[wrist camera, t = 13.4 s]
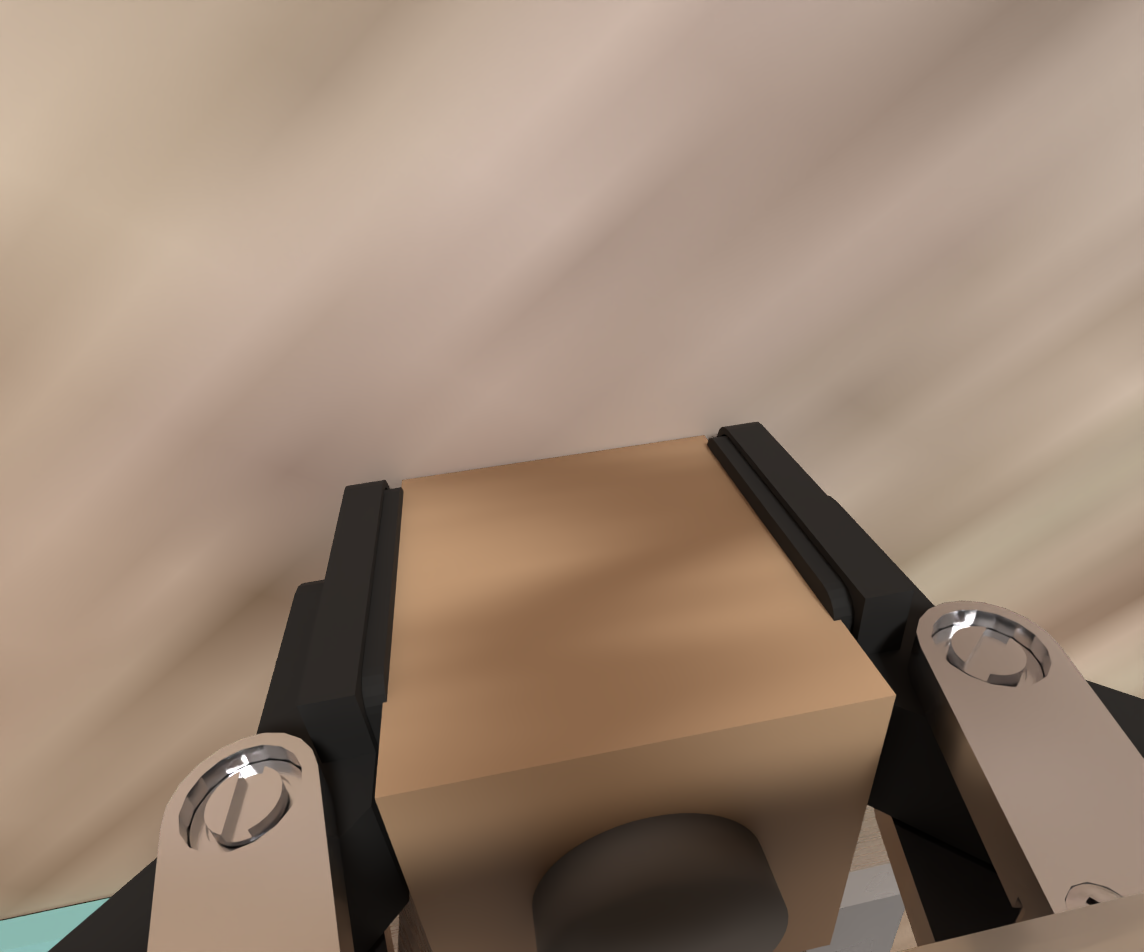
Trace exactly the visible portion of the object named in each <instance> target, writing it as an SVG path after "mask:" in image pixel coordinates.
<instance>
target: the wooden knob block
mask: <svg viewBox="0 0 1144 952" xmlns="http://www.w3.org/2000/svg"><path fill="white" fill-rule="evenodd" d="M707 443H708V440H707V438H706V437H705V436H704V435H703V436H696V437H690V438H683V439H676V440H670V441H663V442H656V443H649V444H643V445H636V446H629V447H622V448H616V449H609V450H602V451H595V452H589V453H582V454H575V455H569V456H562V457H555V458H548V459H542V460H535V461H528V462H521V463H515V464H508V465H501V466H494V467H488V468H481V469H474V470H468V471H461V472H454V473H447V474H441V475H434V476H427V477H420V478H414V479H407V480H402V489H403V491H404V494H403V506H402V519H401V531H400V544H399V556H398V569H397V582H396V594H395V607H394V619H393V632H392V644H391V657H390V669H389V682H388V694H387V702H384V703H383V708H382V719H381V731H380V742H379V754H378V766H377V777H376V789H375V800H376V803H377V806H378V808H379V811H380V814H381V816H382V819H383V822H384V824H385V827H386V830H387V832H388V835H389V838H390V840H391V843H392V846H393V848H394V851H395V854H396V856H397V859H398V862H399V864H400V867H401V870H402V872H403V875H404V878H405V880H406V883H407V886H408V888H409V891H410V894H411V896H412V899H413V902H414V904H415V907H416V910H417V912H418V915H419V918H420V920H421V923H422V926H423V928H424V931H425V934H426V936H427V939H428V942H429V944H430V947H431V950H432V952H801V951H806V950H810V949H814V948H818V947H822V946H827V945H830V943H831V939H832V936H833V932H834V928H835V924H836V920H837V917H838V913H839V909H840V905H841V902H842V898H843V894H844V890H845V887H846V883H847V879H848V875H849V871H850V868H851V864H852V860H853V856H854V853H855V849H856V845H857V841H858V837H859V834H860V830H861V826H862V822H863V819H864V815H865V811H866V807H867V803H868V800H869V796H870V792H871V788H872V785H873V781H874V777H875V773H876V769H877V766H878V762H879V758H880V754H881V751H882V747H883V743H884V739H885V735H886V732H887V728H888V724H889V720H890V717H891V713H892V709H893V705H894V702H895V698H896V694H895V693H894V691H893V690H892V689H891V687H890V686H889V685H888V683H887V682H886V680H885V679H884V678H883V676H882V675H881V674H880V672H879V671H878V670H877V668H876V667H875V666H874V664H873V663H872V662H871V660H870V659H869V657H868V656H867V655H866V653H865V652H864V651H863V649H862V648H861V647H860V645H859V644H858V643H857V641H856V640H855V639H854V637H853V636H852V634H851V633H850V632H849V630H848V629H847V628H846V626H845V625H844V624H843V622H842V621H841V620H837V621H834V620H833V619H832V617H831V616H830V615H829V613H828V612H827V610H826V609H825V608H824V606H823V605H822V604H821V602H820V601H819V599H818V598H817V597H816V595H815V594H814V593H813V591H812V590H811V588H810V587H809V586H808V584H807V583H806V582H805V580H804V579H803V577H802V576H801V575H800V573H799V572H798V570H797V569H796V568H795V566H794V565H793V564H792V562H791V561H790V559H789V558H788V557H787V555H786V554H785V553H784V551H783V550H782V548H781V547H780V546H779V544H778V543H777V541H776V540H775V539H774V537H773V536H772V535H771V533H770V532H769V530H768V529H767V528H766V526H765V525H764V524H763V522H762V521H761V519H760V518H759V517H758V515H757V514H756V512H755V511H754V510H753V508H752V507H751V506H750V504H749V503H748V501H747V500H746V499H745V497H744V496H743V495H742V493H741V492H740V490H739V489H738V488H737V486H736V485H735V483H734V482H733V481H732V479H731V478H730V477H729V475H728V474H727V472H726V471H725V470H724V468H723V467H722V466H721V464H720V463H719V461H718V460H717V459H716V457H715V456H714V455H713V453H712V452H711V450H710V449H709V448H708V446H707Z"/></svg>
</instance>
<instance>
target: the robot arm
mask: <svg viewBox="0 0 1144 952" xmlns="http://www.w3.org/2000/svg"><path fill="white" fill-rule="evenodd" d="M707 446H708V448H709V449H710V450H711V452H712V453H713V455H714V456H715V457H716V459H717V460H718V461H719V463H720V464H721V466H722V467H723V468H724V470H725V471H726V472H727V474H728V475H729V477H730V478H731V479H732V481H733V482H734V483H735V485H736V486H737V488H738V489H739V490H740V492H741V493H742V495H743V496H744V497H745V499H746V500H747V501H748V503H749V504H750V506H751V507H752V508H753V510H754V511H755V512H756V514H757V515H758V517H759V518H760V519H761V521H762V522H763V524H764V525H765V526H766V528H767V529H768V530H769V532H770V533H771V535H772V536H773V537H774V539H775V540H776V541H777V543H778V544H779V546H780V547H781V548H782V550H783V551H784V553H785V554H786V555H787V557H788V558H789V559H790V561H791V562H792V564H793V565H794V566H795V568H796V569H797V570H798V572H799V573H800V575H801V576H802V577H803V579H804V580H805V582H806V583H807V584H808V586H809V587H810V588H811V590H812V591H813V593H814V594H815V595H816V597H817V598H818V599H819V601H820V602H821V604H822V605H823V606H824V608H825V609H826V610H827V612H828V613H829V615H830V616H831V617H832V619H833V620H834V621H837V620H841V621H842V622H843V624H844V625H845V626H846V628H847V629H848V630H849V632H850V633H851V634H852V636H853V637H854V639H855V640H856V641H857V643H858V644H859V645H860V647H861V648H862V649H863V651H864V652H865V653H866V655H867V656H868V657H869V659H870V660H871V662H872V663H873V664H874V666H875V667H876V668H877V670H878V671H879V672H880V674H881V675H882V676H883V678H884V679H885V680H886V682H887V683H888V685H889V686H890V687H891V689H892V690H893V691H894V693H895V694H896V698H895V702H894V705H893V709H892V713H891V717H890V720H889V724H888V728H887V732H886V735H885V739H884V743H883V747H882V751H881V754H880V758H879V762H878V766H877V769H876V773H875V777H874V781H873V785H872V788H871V792H870V796H869V800H868V803H867V805H868V806H871V807H873V808H874V813H875V818H876V821H877V825H878V828H879V831H880V834H881V837H882V840H883V843H884V846H885V849H886V852H887V855H888V858H889V861H890V864H891V867H892V870H893V873H894V876H895V879H896V882H897V885H898V888H899V891H900V894H901V897H902V900H903V904H904V907H905V910H906V913H907V916H908V919H909V922H910V925H911V928H912V931H913V934H914V937H915V940H916V943H917V946H918V947H915V948H911V949H907V950H903V951H899V952H1144V699H1141V698H1138V697H1135V696H1132V695H1129V694H1126V693H1123V692H1120V691H1117V690H1114V689H1111V688H1108V687H1105V686H1102V685H1099V684H1096V683H1093V682H1090V681H1087V680H1085V679H1084V677H1083V676H1082V674H1081V673H1080V672H1079V670H1078V669H1077V668H1076V666H1075V665H1074V664H1073V662H1072V661H1071V660H1070V658H1069V657H1068V656H1067V654H1066V653H1065V652H1064V650H1063V649H1062V647H1061V646H1060V645H1059V644H1058V643H1057V642H1056V641H1055V640H1054V639H1053V638H1052V637H1051V636H1050V635H1049V633H1048V632H1047V631H1046V630H1044V629H1043V628H1041V627H1040V626H1038V625H1037V624H1035V623H1034V622H1032V621H1031V620H1029V619H1028V618H1026V617H1024V616H1022V615H1019V614H1017V613H1015V612H1013V611H1010V610H1008V609H1006V608H1002V607H999V606H995V605H991V604H987V603H983V602H972V601H954V602H947V603H942V604H939V605H937V606H934V605H933V604H932V603H931V602H930V601H929V600H928V599H927V597H926V596H925V595H924V594H923V593H922V592H921V591H920V590H919V589H918V588H917V587H916V586H915V585H914V584H913V582H912V581H911V580H910V579H909V578H908V577H907V576H906V575H905V574H904V573H903V572H902V571H901V570H900V569H899V568H898V566H897V565H896V564H895V563H894V562H893V561H892V560H891V559H890V558H889V557H888V556H887V555H886V554H885V553H884V551H883V550H882V549H881V548H880V547H879V546H878V545H877V544H876V543H875V542H874V541H873V540H872V539H871V538H870V536H869V535H868V534H867V533H866V532H865V531H864V530H863V529H862V528H861V527H860V526H859V525H858V524H857V523H856V521H855V520H854V519H853V518H852V517H851V516H850V515H849V514H848V513H847V512H846V511H845V510H844V509H843V508H842V507H841V505H840V504H839V503H838V502H837V501H836V500H834V499H833V498H832V497H830V496H827V495H826V494H825V492H824V491H823V490H822V489H821V488H820V487H819V486H818V485H817V484H816V483H815V482H814V481H813V480H812V478H811V477H810V476H809V475H808V474H807V473H806V472H805V471H804V470H803V469H802V468H801V467H800V465H799V464H798V463H797V462H796V461H795V460H794V459H793V458H792V457H791V456H790V455H789V454H788V453H787V451H786V450H785V449H784V448H783V447H782V446H781V445H780V444H779V443H778V442H777V441H776V440H775V438H774V437H773V436H772V435H771V434H770V433H769V432H768V431H767V430H766V429H765V428H764V427H763V425H762V424H760V423H759V422H752V423H746V424H739V425H733V426H727V427H721V429H720V430H719V432H718V436H717V437H716V438H710V439H709V440H708V443H707ZM403 494H404V491H403V489H402V488H401V487H400V488H394V489H390V488H389V486H388V483H387V482H386V480H382V481H376V482H369V483H363V484H356V485H350V486H346V488H345V490H344V495H343V499H342V504H341V508H340V513H339V517H338V522H337V526H336V531H335V535H334V540H333V544H332V549H331V553H330V558H329V562H328V567H327V571H326V576H325V580H320V581H314V582H308V583H302V584H301V585H300V586H298V588H297V591H296V593H295V596H294V599H293V603H292V607H291V610H290V614H289V618H288V621H287V625H286V629H285V632H284V636H283V640H282V643H281V647H280V651H279V654H278V658H277V661H276V665H275V669H274V672H273V676H272V680H271V683H270V687H269V691H268V694H267V698H266V702H265V705H264V709H263V713H262V716H261V720H260V724H259V727H258V731H257V735H253V736H249V737H245V738H242V739H239V740H237V741H235V742H233V743H231V744H229V745H227V746H225V747H223V748H221V749H219V750H217V751H216V752H215V753H213V754H212V755H210V756H209V757H208V758H206V759H205V760H204V761H202V762H201V763H200V764H198V765H197V766H196V767H195V768H194V769H193V770H192V771H191V772H190V774H189V775H188V776H187V777H186V778H185V779H184V780H183V781H182V782H181V783H180V784H179V786H178V787H177V789H176V791H175V792H174V794H173V796H172V797H171V799H170V801H169V802H168V804H167V806H166V809H165V813H164V816H163V820H162V823H161V827H160V836H159V845H158V855H157V858H156V859H155V860H154V861H152V862H151V863H150V864H149V865H148V866H147V867H145V868H144V869H143V870H142V871H141V872H140V873H138V874H137V875H136V876H135V877H134V878H133V879H132V880H130V881H129V882H128V883H127V884H126V885H125V886H123V887H122V888H121V889H120V890H119V891H118V892H116V893H115V894H114V895H113V896H112V897H111V898H109V899H108V900H107V901H106V902H105V903H104V904H102V905H101V906H100V907H99V908H98V909H97V910H95V911H94V912H93V913H92V914H91V915H90V916H88V917H87V918H86V919H85V920H84V921H83V922H81V923H80V924H79V925H78V926H77V927H76V928H74V929H73V930H72V931H71V932H70V933H69V934H68V935H66V936H65V937H64V938H63V939H62V940H61V941H59V942H58V943H57V944H56V945H55V946H54V947H52V948H51V949H50V950H49V951H48V952H395V951H394V946H393V940H392V935H391V929H390V924H391V923H392V922H393V920H394V919H395V918H396V917H397V916H398V914H399V913H400V912H401V911H402V909H403V908H404V907H405V906H406V905H407V903H408V902H409V894H410V891H409V888H408V886H407V883H406V880H405V878H404V875H403V872H402V870H401V867H400V864H399V862H398V859H397V856H396V854H395V851H394V848H393V846H392V843H391V840H390V838H389V835H388V832H387V830H386V827H385V824H384V822H383V819H382V816H381V814H380V811H379V808H378V806H377V803H376V800H375V789H376V777H377V766H378V754H379V742H380V731H381V719H382V708H383V703H384V702H387V694H388V682H389V669H390V657H391V644H392V632H393V619H394V607H395V594H396V582H397V569H398V556H399V544H400V531H401V519H402V506H403Z"/></svg>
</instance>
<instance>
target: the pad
mask: <svg viewBox="0 0 1144 952" xmlns="http://www.w3.org/2000/svg"><path fill="white" fill-rule="evenodd" d="M108 899H109V898H107V899H102V900H97V901H93V902H88V903H83V904H78V905H74V906H69V907H64V908H59V909H55V910H50V911H45V912H40V913H36V914H31V915H26V916H21V917H17V918H12V919H7V920H2V921H0V952H48V951H49V950H50V949H51V948H52V947H54V946H55V945H56V944H57V943H58V942H59V941H61V940H62V939H63V938H64V937H65V936H66V935H68V934H69V933H70V932H71V931H72V930H73V929H74V928H76V927H77V926H78V925H79V924H80V923H81V922H83V921H84V920H85V919H86V918H87V917H88V916H90V915H91V914H92V913H93V912H94V911H95V910H97V909H98V908H99V907H100V906H101V905H102V904H104V903H105V902H106V901H107V900H108Z"/></svg>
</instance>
